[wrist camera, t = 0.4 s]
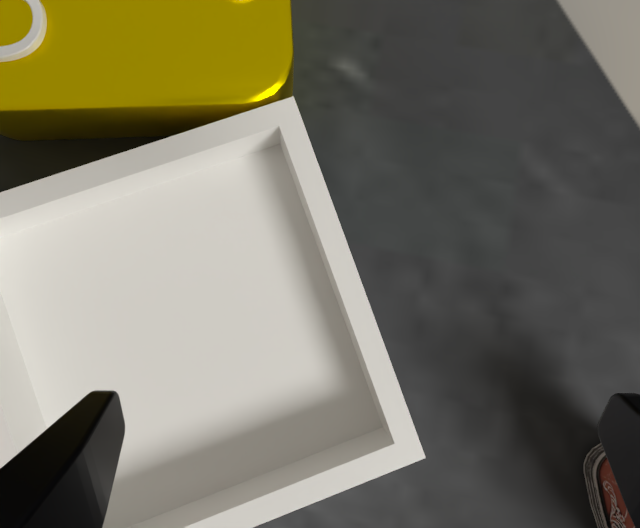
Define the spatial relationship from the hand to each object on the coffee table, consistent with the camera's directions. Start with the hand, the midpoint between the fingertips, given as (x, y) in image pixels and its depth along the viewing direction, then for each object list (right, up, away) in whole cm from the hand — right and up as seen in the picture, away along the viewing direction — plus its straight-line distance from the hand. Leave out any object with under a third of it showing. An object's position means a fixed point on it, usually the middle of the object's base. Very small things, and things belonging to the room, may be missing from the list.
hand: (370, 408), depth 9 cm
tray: (-7, -1, +14) cm, 16 cm away
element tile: (-10, +16, +16) cm, 25 cm away
